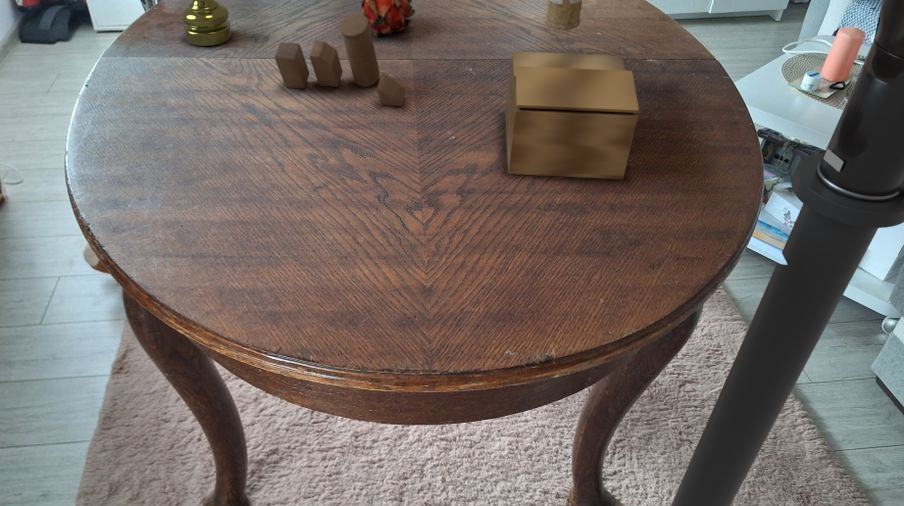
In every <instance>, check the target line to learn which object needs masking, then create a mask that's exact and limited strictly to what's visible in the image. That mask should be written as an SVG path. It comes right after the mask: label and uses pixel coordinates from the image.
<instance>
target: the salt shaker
mask: <svg viewBox="0 0 904 506" xmlns="http://www.w3.org/2000/svg"><path fill="white" fill-rule="evenodd" d="M180 14H181V15H180V16H181V19H182V22H183V23H184V25H183V30H184V34H185V39H186V41H187V42H188V43H189V44H192V45H194V46H199V47H212V46H218V45H221V44H224V43H226V42H228V41H229V40H230V39H231V38H232V29H231V22H230V21H229V20H228V19H229V14H230V13H229V10H228V7H226V6H225V5H224V4H222V3H219V2H218V0H191V1H190V2H189V3H188V5H187V6H185V8H183V9H182V11H181V13H180Z"/></svg>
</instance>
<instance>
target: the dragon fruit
mask: <svg viewBox="0 0 904 506" xmlns="http://www.w3.org/2000/svg"><path fill="white" fill-rule="evenodd" d="M412 1H413V0H362V1H361V4H360V10H361V12H362V15H364V16H365V17H366V18H367V19H368V22H369V27H371V28H370V29H371V30H372V32H373V34H374V35H375V36H376V37H380V36H382V35H383V36H384V35H385V34H389V35H391V34H392V33H393V32H394V31H395V32H396V33H400V32H402V31H403V30H404V29H405V28H406V27H409V26H410V24H411V23H412V21H413V19H412V17H413V16H414V15H415V13H416V10H415V9H414V8H413V7H414V6H413V5H412V4H411V3H412Z"/></svg>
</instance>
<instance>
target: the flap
mask: <svg viewBox="0 0 904 506" xmlns="http://www.w3.org/2000/svg"><path fill="white" fill-rule="evenodd" d="M635 85H636V84H635V78H634V73H633V70H625V71H620V70H596V69H571V68H547V67H523V66H516V107H517V108H539V109H562V110H584V111H607V112H629V113H637V114H638V113H639V112H640V107H639V102H638V101H639V100H638V96H637V90H636V86H635Z"/></svg>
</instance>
